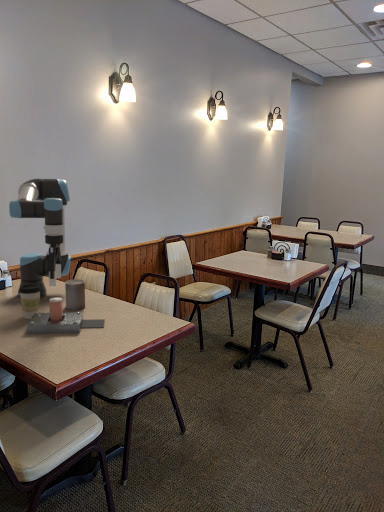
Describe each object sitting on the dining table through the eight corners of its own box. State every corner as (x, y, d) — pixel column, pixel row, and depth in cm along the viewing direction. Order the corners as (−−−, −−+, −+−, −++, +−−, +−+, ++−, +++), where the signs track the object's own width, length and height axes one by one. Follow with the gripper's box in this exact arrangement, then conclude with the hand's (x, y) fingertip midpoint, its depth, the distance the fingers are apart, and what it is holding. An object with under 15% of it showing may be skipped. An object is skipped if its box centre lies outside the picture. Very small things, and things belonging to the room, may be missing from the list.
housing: (34, 321, 191) (34, 311, 190) (83, 320, 195) (83, 311, 194) (27, 333, 177) (26, 323, 176) (79, 332, 180) (79, 322, 179)
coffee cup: (34, 321, 191) (33, 290, 188) (15, 319, 193) (14, 288, 190) (45, 314, 200) (44, 285, 197) (27, 312, 202) (26, 283, 199)
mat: (83, 320, 195) (83, 319, 195) (104, 320, 196) (104, 319, 196) (80, 328, 185) (80, 327, 185) (103, 327, 187) (103, 327, 187)
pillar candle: (84, 303, 219) (83, 276, 216) (85, 309, 210) (85, 281, 207) (65, 304, 216) (64, 277, 213) (66, 310, 207) (65, 282, 204)
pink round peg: (51, 324, 188) (50, 297, 185) (63, 324, 189) (63, 297, 186) (49, 329, 183) (48, 301, 180) (61, 328, 184) (61, 301, 181)
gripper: (50, 230, 189) (51, 275, 193) (39, 238, 165) (40, 289, 169) (67, 230, 190) (68, 275, 194) (58, 238, 166) (59, 289, 170)
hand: (55, 281), depth 181 cm, fingers open, 13 cm apart
